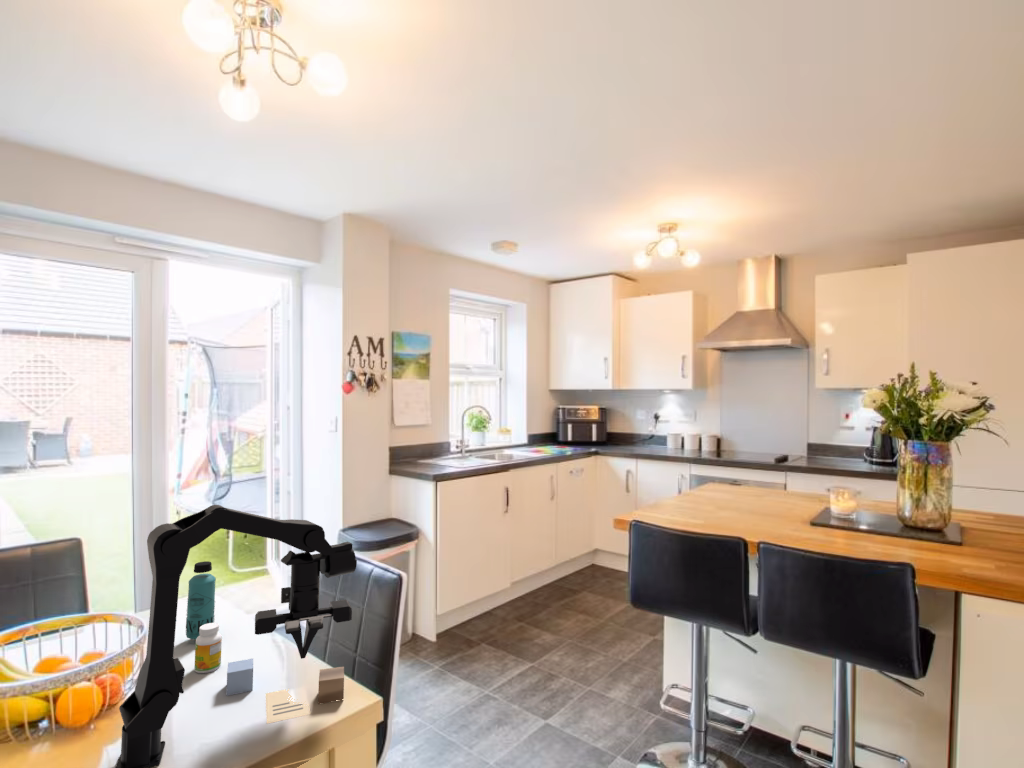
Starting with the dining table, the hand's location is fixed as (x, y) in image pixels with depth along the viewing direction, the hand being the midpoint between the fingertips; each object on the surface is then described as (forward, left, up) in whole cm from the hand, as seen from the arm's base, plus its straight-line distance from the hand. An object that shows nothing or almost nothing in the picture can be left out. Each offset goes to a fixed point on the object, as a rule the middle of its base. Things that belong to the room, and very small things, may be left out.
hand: (302, 657), depth 112 cm
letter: (0, +3, -9) cm, 9 cm away
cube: (+11, +12, -9) cm, 19 cm away
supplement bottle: (+24, +19, -9) cm, 32 cm away
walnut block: (-1, -6, -9) cm, 11 cm away
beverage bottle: (+42, +22, -9) cm, 48 cm away
